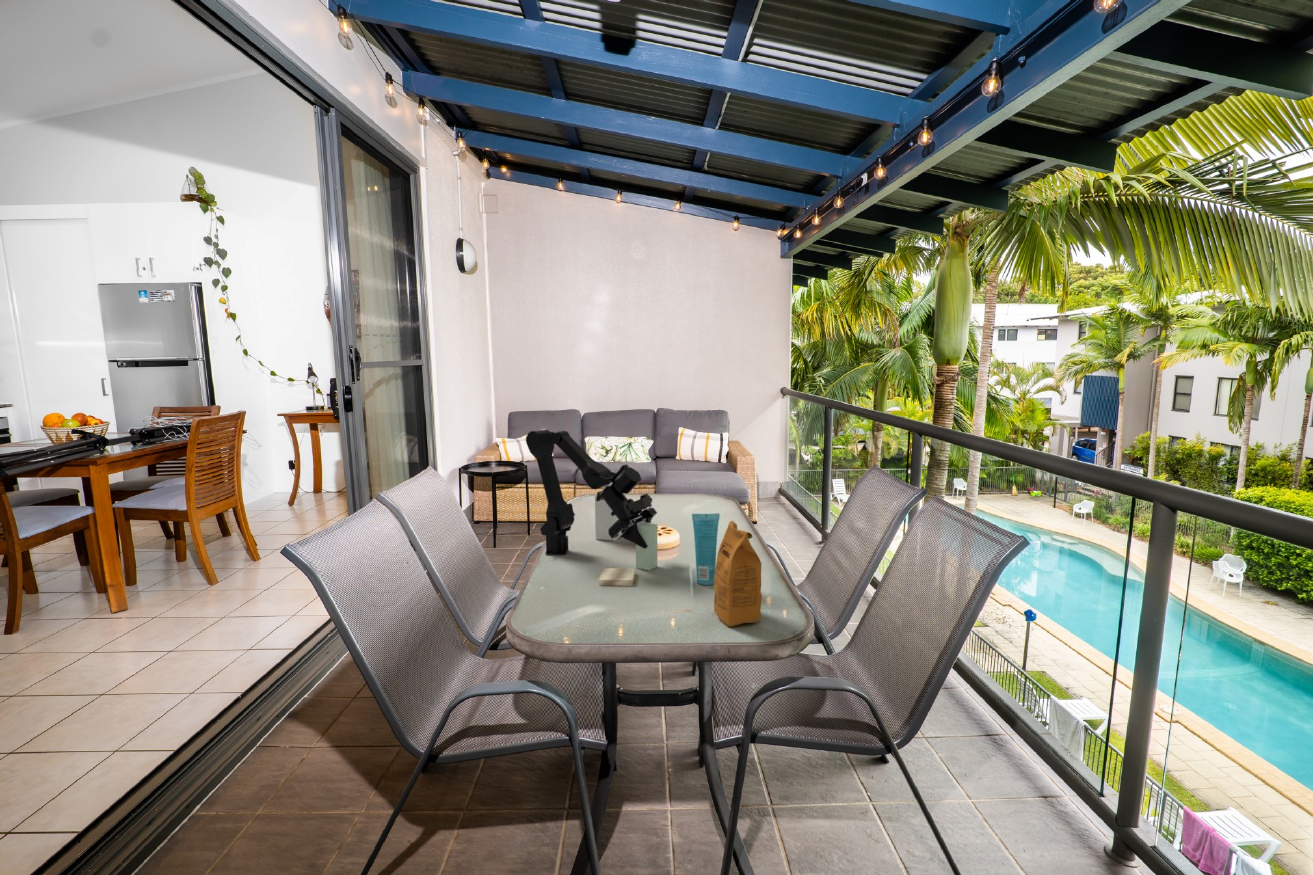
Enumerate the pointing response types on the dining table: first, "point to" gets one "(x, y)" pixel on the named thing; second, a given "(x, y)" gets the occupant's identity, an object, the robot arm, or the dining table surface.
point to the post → (649, 555)
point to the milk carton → (604, 520)
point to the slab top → (617, 576)
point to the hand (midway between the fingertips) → (650, 545)
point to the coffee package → (737, 579)
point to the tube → (705, 546)
